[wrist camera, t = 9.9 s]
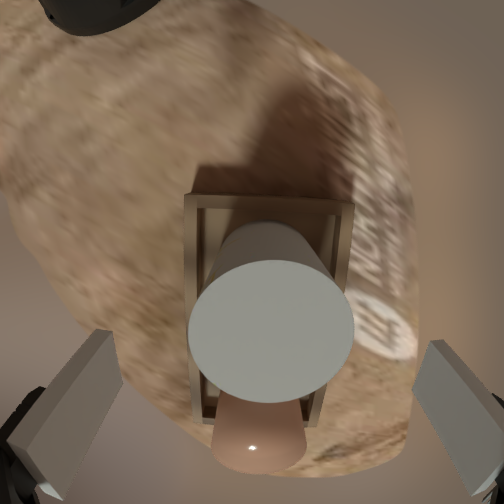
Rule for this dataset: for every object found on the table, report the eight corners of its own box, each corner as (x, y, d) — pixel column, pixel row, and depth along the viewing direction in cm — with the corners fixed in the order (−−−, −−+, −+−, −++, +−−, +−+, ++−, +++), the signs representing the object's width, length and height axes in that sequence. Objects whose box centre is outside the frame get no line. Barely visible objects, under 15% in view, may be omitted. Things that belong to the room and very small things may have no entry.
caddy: (191, 192, 25) (184, 194, 23) (346, 200, 25) (355, 203, 23) (196, 407, 31) (193, 422, 28) (313, 411, 31) (316, 427, 28)
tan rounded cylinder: (223, 342, 28) (209, 416, 18) (298, 345, 28) (314, 419, 18) (223, 397, 30) (212, 471, 20) (289, 399, 30) (299, 473, 20)
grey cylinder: (214, 220, 25) (178, 262, 14) (313, 218, 25) (360, 256, 13) (220, 312, 27) (198, 402, 16) (312, 309, 27) (344, 397, 15)
